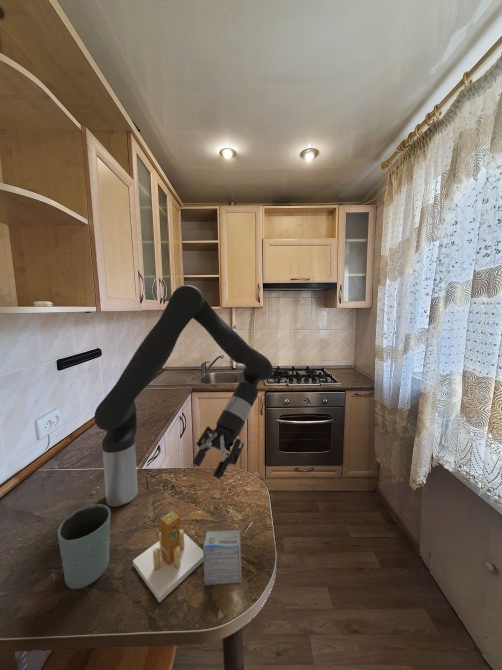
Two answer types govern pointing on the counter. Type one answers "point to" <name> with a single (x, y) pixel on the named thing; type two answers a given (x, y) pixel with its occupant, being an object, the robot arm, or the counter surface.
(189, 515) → the counter surface
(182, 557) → the pin plate
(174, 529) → the supplement box
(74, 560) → the teal embossed cup
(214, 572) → the medicine box
